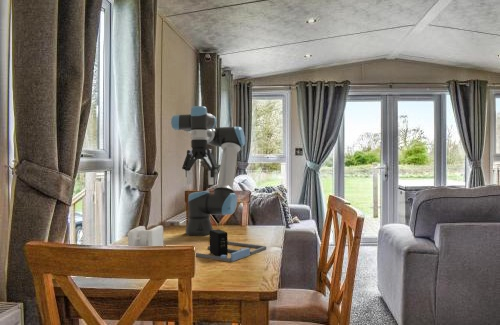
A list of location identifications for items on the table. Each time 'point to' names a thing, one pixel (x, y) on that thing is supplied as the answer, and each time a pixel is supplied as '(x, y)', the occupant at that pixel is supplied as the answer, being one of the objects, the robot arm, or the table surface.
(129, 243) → the cable organizer
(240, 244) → the grey flat frame
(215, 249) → the electronic device
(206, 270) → the table surface
